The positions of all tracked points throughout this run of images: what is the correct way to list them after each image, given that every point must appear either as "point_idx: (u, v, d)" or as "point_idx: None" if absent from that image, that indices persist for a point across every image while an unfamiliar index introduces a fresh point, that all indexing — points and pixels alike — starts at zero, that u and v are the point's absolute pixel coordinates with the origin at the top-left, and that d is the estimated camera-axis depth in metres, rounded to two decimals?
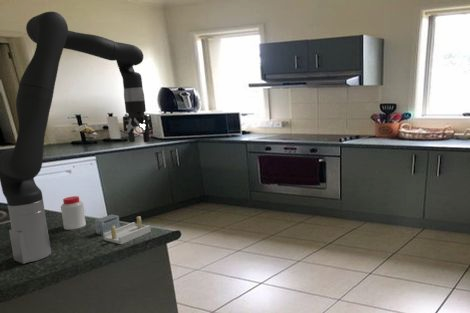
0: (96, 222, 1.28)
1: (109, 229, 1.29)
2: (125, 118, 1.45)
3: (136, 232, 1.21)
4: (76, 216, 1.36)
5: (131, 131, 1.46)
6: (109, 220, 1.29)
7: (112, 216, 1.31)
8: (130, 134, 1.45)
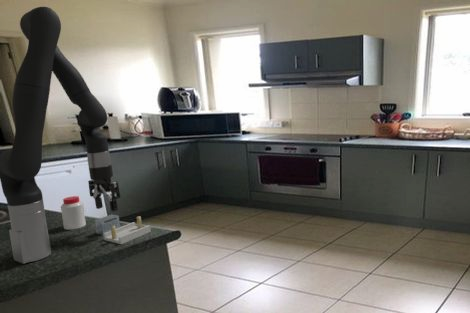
0: (96, 222, 1.28)
1: (109, 229, 1.29)
2: (91, 182, 1.31)
3: (136, 232, 1.21)
4: (76, 216, 1.36)
5: (98, 196, 1.32)
6: (109, 220, 1.29)
7: (112, 216, 1.31)
8: (97, 200, 1.31)
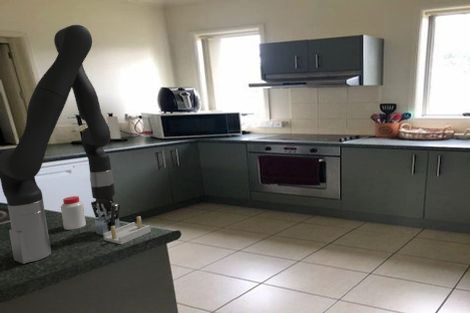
0: (96, 221, 1.28)
1: None
2: (93, 203, 1.32)
3: (136, 232, 1.21)
4: (76, 216, 1.36)
5: None
6: None
7: None
8: None
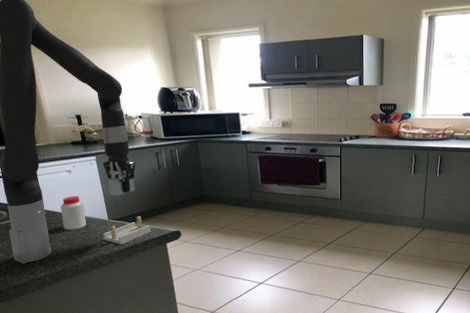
0: (110, 181, 1.19)
1: None
2: (106, 163, 1.23)
3: (136, 232, 1.21)
4: (76, 216, 1.36)
5: None
6: None
7: None
8: None
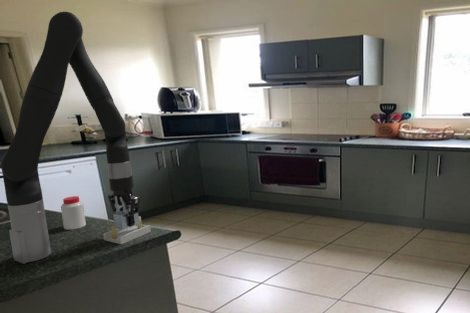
0: (115, 216, 1.21)
1: None
2: (111, 197, 1.25)
3: (136, 232, 1.21)
4: (76, 216, 1.36)
5: None
6: None
7: None
8: None
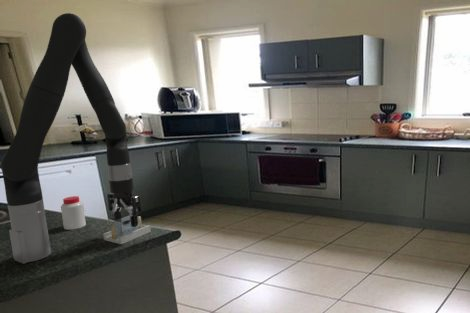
0: (115, 223, 1.21)
1: (128, 230, 1.22)
2: (110, 196, 1.25)
3: (136, 232, 1.21)
4: (76, 216, 1.36)
5: (117, 211, 1.25)
6: (128, 221, 1.22)
7: None
8: (116, 215, 1.25)
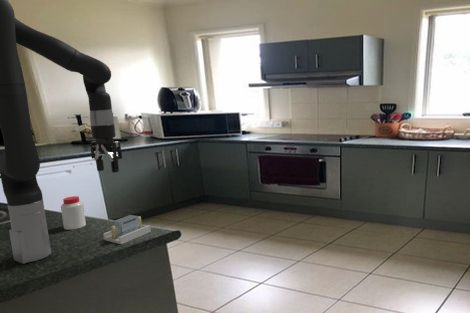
0: (115, 223, 1.21)
1: (128, 230, 1.22)
2: (93, 143, 1.27)
3: (136, 232, 1.21)
4: (76, 216, 1.36)
5: (99, 158, 1.27)
6: (128, 221, 1.22)
7: (131, 217, 1.24)
8: (98, 162, 1.27)
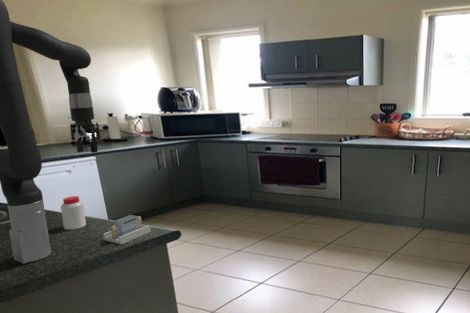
0: (115, 223, 1.21)
1: (128, 230, 1.22)
2: (72, 126, 1.33)
3: (136, 232, 1.21)
4: (76, 216, 1.36)
5: (79, 140, 1.34)
6: (128, 221, 1.22)
7: (131, 217, 1.24)
8: (78, 143, 1.33)
